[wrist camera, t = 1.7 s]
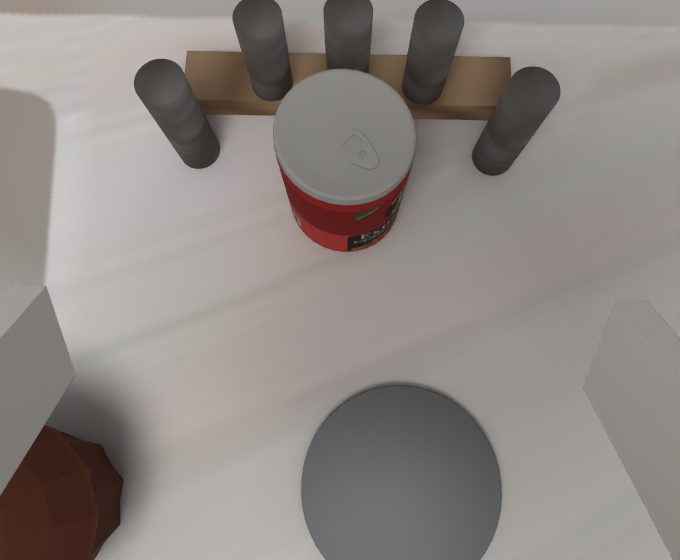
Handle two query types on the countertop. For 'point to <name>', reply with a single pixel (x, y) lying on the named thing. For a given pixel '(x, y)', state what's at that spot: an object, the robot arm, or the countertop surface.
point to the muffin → (59, 501)
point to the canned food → (344, 156)
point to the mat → (401, 480)
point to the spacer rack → (350, 53)
